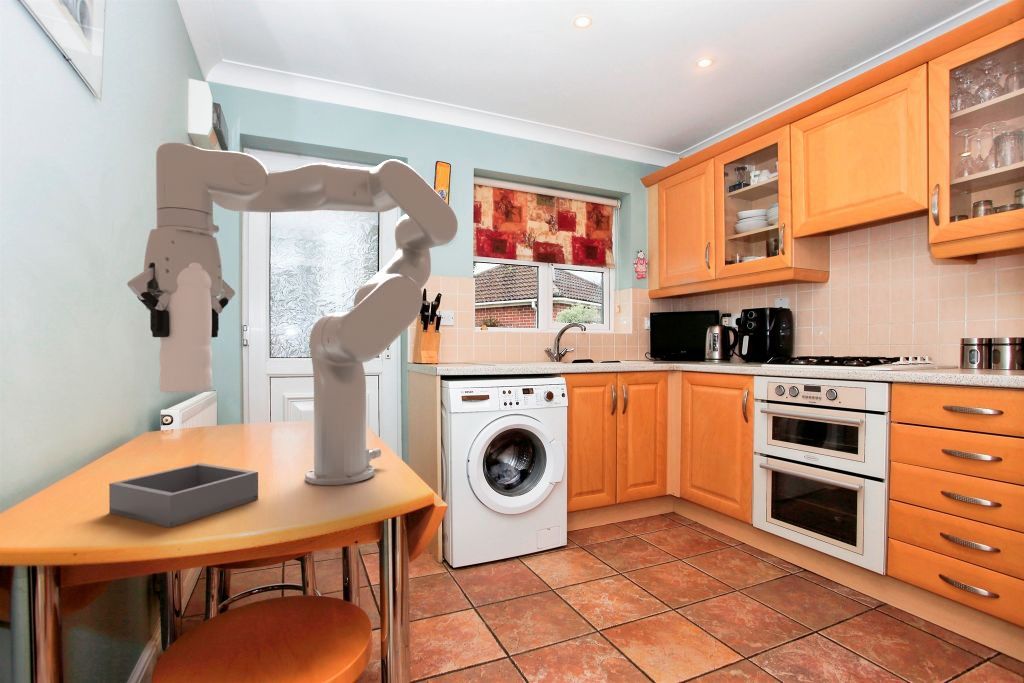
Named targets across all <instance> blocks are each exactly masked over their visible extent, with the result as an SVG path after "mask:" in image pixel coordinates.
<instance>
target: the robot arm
mask: <svg viewBox="0 0 1024 683" xmlns="http://www.w3.org/2000/svg"><path fill="white" fill-rule="evenodd" d="M155 157H156V158H155V165H156V166H155V167H156V168H155V171H156V172H155V174H156V175H155V176H156V178H155V179H156V180H155V182H156V185H155V186H156V188H155V189H156V192H155V193H156V198H155V199H156V202H155V203H156V228H154V229H150V231H149V234H148V239H147V242H146V249H145V253H144V260H143V261H144V262H143V263H144V264H143V271H141V273H139V274H138V275H136V276H135V277H133V278H132V279H129V281H128V282H127V283H126V284H127V287H128V288H129V289H130V290H131V292H132V293H134V295H136V297H137V299H138V300H139V301H140V302H141V303H142V304H143V305H144V306H145V308H146V310H147V311H149V312H150V317H149V318H150V324H149V325H150V327H149V328H150V331H151V332H152V334H151V335H152V338H160V337H168V336H169V312H168V311H165V307H166V305H167V304H168V302H169V300H170V298H171V294H173V293H175V292H176V291H177V288H178V284H177V277H178V275H179V273H180V272H181V271H182V270H183V269H185V268H189V265H190V264H191V263H198V264H200V265H201V266H202V269H203V270H205V271H206V272H207V273H208V275H209V276H210V278H211V282H212V285H211V288H210V294H211V305H212V334H211V338H217V337H218V336H219V329H220V328H219V324H220V323H219V319H220V318H219V314H221V313H223V309H224V308H225V307H226V306H227V305H228V304H229V301H231V300H232V299H233V297H234V296H235V295H236V291H235V290H234V289H233V288H232V287H231V286H230V285H229V284H228V283H227V282H226V281H225V280H224V279H223V271H222V270H223V268H222V261H221V260H222V259H221V254H220V249H219V247H220V246H219V245H218V244H219V243H218V240H217V237H214V234H218V232H219V230H220V226H219V225H217V224H214V218H213V217H214V206H213V205H214V204H216V205H217V206H219V207H221V208H223V209H225V210H228V211H232V212H243V213H244V212H245V213H292V212H295V213H296V212H316V211H340V212H357V213H358V212H362V213H384V212H388V211H392V210H393V209H396V208H399V209H400V210H401V211H402V212H403V214H404V215H402V216H401V217H400V218H399V219H398V221H397V223H396V225H395V229H394V238H395V240H394V241H395V247H396V251H395V255H394V256H393V258H392V259H391V260H389V262H388V263H387V264H386V265H385V266H384V267H383V268H382V269H380V270H379V271H378V272H377V273H376V274H375V275H373V277H371V278H370V279H369V280H367V281H365V283H363V284H362V286H361V287H360V288H358V290H357V291H356V294H355V296H354V299H353V308H352V309H351V310H350V311H338V312H332V313H328V314H326V315H324V316H322V317H320V319H318V320H317V321H316V322H315V323H314V325H313V327H312V328H311V331H310V336H309V351H310V357H311V364H312V371H313V374H312V375H313V465H314V466H313V468H312V469H309V470H307V471H306V472H305V474H304V476H305V477H304V479H305V481H306V482H307V483H308V484H313V485H319V486H339V485H340V486H341V485H347V484H348V485H349V484H355V483H358V482H362V481H365V480H368V479H370V478H372V477H374V475H375V467H374V466H373V465H370V462H371V461H372V460H374V459H375V460H376V459H378V458H380V457H381V456H382V451H381V449H380V448H379V447H377V448H373V449H370V448H367V406H366V405H367V381H366V379H367V378H366V374H365V373H366V372H365V369H364V363H368V362H370V361H373V360H374V359H376V358H377V357H379V356H380V355H382V353H383V352H384V351H386V350H387V349H388V348H389V346H391V344H393V343H394V342H395V341H396V340H397V339H398V338H399V337H400V336H401V335H402V334H403V332H405V331H406V330H407V329H408V328H409V327H410V326H411V324H413V322H414V321H415V320H416V319H417V317H418V316H419V314H420V312H421V310H422V307H423V302H424V301H423V300H424V299H423V297H424V296H423V293H422V292H423V291H422V288H423V287H424V286H425V285H426V284H427V282H428V281H429V278H430V276H431V272H432V266H431V265H432V263H431V262H432V261H431V252H430V251H431V250H430V249H432V248H436V247H439V246H443V245H445V244H448V243H450V242H451V241H452V240H453V239H454V238H455V237H456V234H457V232H458V224H459V222H458V218H457V215H456V214H455V212H454V210H453V209H452V207H451V206H450V205H449V204H448V203H447V201H446V200H445V199H444V198H443V197H442V196H441V195H440V194H439V193H438V192H437V191H436V190H435V188H433V187H432V185H430V184H429V182H427V181H426V179H424V178H423V177H422V175H420V174H419V173H418V172H417V171H416V170H415V169H413V168H412V167H411V166H410V165H409V164H407V163H405V162H403V161H401V160H398V159H388V160H385V161H383V162H381V163H380V164H378V165H377V166H375V167H362V166H360V167H359V166H353V165H351V166H349V165H342V164H334V163H333V164H332V163H326V162H318V163H317V162H316V163H311V164H307V165H303V166H301V167H296V168H295V169H293V168H292V169H290V170H289V169H288V170H285V171H284V170H283V171H275V172H268V171H267V168H266V166H265V165H264V164H263V163H262V161H261V160H259V159H258V158H256V157H255V156H253V155H250V154H248V153H245V152H239V151H229V150H228V151H227V150H215V149H214V150H213V149H203V148H201V147H199V146H197V145H192V144H188V143H182V142H166V143H163V144H162V145H159V146H158V147H157V150H156V155H155Z"/></svg>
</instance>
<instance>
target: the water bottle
mask: <svg viewBox="0 0 1024 683" xmlns="http://www.w3.org/2000/svg"><path fill="white" fill-rule="evenodd" d="M177 284H178V288H177V291H176V292H175V293H173V294H171V298H170V300H169V302H168V304H167V305H166V307H165V311H168V312H169V336H168V337H159V338H160V345H161V346H160V350H159V365H160V372H159V390H160V391H161V392H162V393H164V394H192V393H203V392H208V391H210V390H211V389H212V388H213V372H212V362H213V351H212V346H211V343H212V337H211V334H212V305H211V294H210V288H211V285H212V282H211V278H210V276H209V275H208V273H207V272H206V271H205V270H203V269H202V266H201V265H200V264H198V263H191V264H190V265H189V268H185V269H183V270H182V271H181V272H180V273H179V275H178V277H177Z"/></svg>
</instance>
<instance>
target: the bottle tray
mask: <svg viewBox="0 0 1024 683" xmlns="http://www.w3.org/2000/svg"><path fill="white" fill-rule="evenodd" d="M108 483H109V482H108ZM108 486H109V490H108V492H109V495H108V497H109V501H108V502H109V507H108V508H109V511H108V512H109V514H113V515H116V516H120V517H126V518H128V519H132V520H133V519H134V520H137V521H142V522H145V523H150V524H152V525H157V526H161V527H165V528H168V529H170V528H174V527H178V526H179V525H183V524H187V523H189V522H192V521H195V520H198V519H202V518H205V517H208V516H212V515H215V514H216V513H220V512H223V511H227V510H229V509H233V508H236V507H238V506H242V505H244V504H249V503H251V502H253V501H257V500H259V471H255V470H248V469H241V468H234V467H227V466H221V465H213V464H208V463H202V462H199V463H195V464H191V465H187V466H181V467H177V468H176V467H175V468H172V469H168V470H164V471H159V472H154V473H150V474H146V475H145V474H144V475H142V476H138V477H132V478H128V479H124V480H123V479H122V480H119V481H115V482H110V483H109V485H108Z"/></svg>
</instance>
